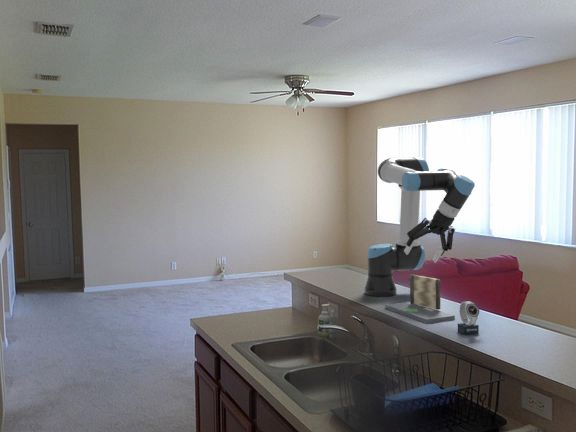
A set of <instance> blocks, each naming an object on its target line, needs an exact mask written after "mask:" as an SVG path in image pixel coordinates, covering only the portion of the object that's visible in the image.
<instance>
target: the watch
mask: <svg viewBox="0 0 576 432" xmlns="http://www.w3.org/2000/svg"><path fill="white" fill-rule="evenodd" d="M479 314H480V309H479V307H478V306H477V304H475V303H474V302H472V301H470V300H469V301H468V300H467V301H461V303H460V305H459V316H460V319H461V322H458V323H457V333H459V334H461V335H463V336H470V335H479V332H480V331H479V327H480V326H479V324H477V323H476V322H477V320H478V319H479Z"/></svg>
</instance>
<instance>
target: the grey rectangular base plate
mask: <svg viewBox="0 0 576 432" xmlns="http://www.w3.org/2000/svg"><path fill="white" fill-rule="evenodd" d="M385 309H387V310H389V311H392V312H395V313H398V314H400V315H403V316H405V317H408V318H411V319H413V320H416V321H419V322H421V323H424V324H431V323H432V324H433V323H439V322H446V321H452V320H453V321H454V320H455V319H456V317H455V314H451V313H447V312H445V311H441V310H440V309H439V310H437V309H433V308H429V307H425V306H420V305H416V304H410V301H405V302H397V303H391V304H390V303H388V304H385Z"/></svg>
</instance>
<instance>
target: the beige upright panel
mask: <svg viewBox="0 0 576 432" xmlns="http://www.w3.org/2000/svg"><path fill="white" fill-rule="evenodd" d="M409 302H410V304H416V305H420V306H425V307H429V308H433V309H436V310H439V311H440V310H441V279H439V278H434V277H428V276H425V275H418V274H409Z"/></svg>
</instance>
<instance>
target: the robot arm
mask: <svg viewBox="0 0 576 432" xmlns="http://www.w3.org/2000/svg"><path fill="white" fill-rule="evenodd" d="M377 175H378V177H379V179H380V180H381V181H383V182H385V183H388V184H392V183H393V184H397V186H398V187H399V189H400V191H401V193H400V211H399V212H400V216H399V217H400V218H399V235H398V237H399V239H397V240H396V242H395V246H394V245H393V244H392V243H379V244H374V245H371V246H370V247H368V249H367V278H366V279H367V280H366V282H365V287H364V294H365V295H367V296H372V297H390V296H395V295H397V294H398V293H397V291H398V290H397V286H396V283H395V280H394V278H393V275H394V273H393V272H399V271H400V272H401V271H416V270H420V269H421V268H422V267H423V265H424V263H425V258H426V252H425V248H424V246H423V245H421V242H420V241H419V239H420V238H422V237H424V236H425V235H429V234H435V235H438V236H439V238H440V242H441V245H440V246H438V248H437V250H436V252H435V253H434V255H433V256H432V257H431V259H432V261H433V262H434V264H436V263H437V262H438V260H439V259H440V257H443V255H444V253H445V252H448V250H450V251H451V250H452V249H453V248H452V247H453V241H454V239H453V238H454V234H455V231H456V229H455V227H454V226H452V224H453V223H454V221H455V218H457V215H458V214H459V213H460V211H461V209H462V208H463V206H464V204H465V203H466V202H467V200H468V198H470V195H472V192H473V190H474V188H475V186H476V185H475V182H474V181H473V180H472V179H470V178H469V177H468V176H464V175H462V174H459V175H457V173H456V172H455V171H454V170H453V169H451V168H450V167H448V166H447V167H446V166H442V167H440V168H438V169H436V171H433V170H432V171H430V168H429V165H428V163H427V161H426V160H425V159H424V158H423V157H419V156H418V157H416V156H412V157H406V156H405V157H389V158H387V159H384V160H383V161H381V162H380V164H379V166H378V168H377ZM421 191H422V192H423V191H444V192H445V193H446V195H445V196H444V197H443V199H442V200H441V203H439V205H438V209H436V211H435V213H433V216H432V219H431V220H429V219H428V218H427V217H424V218H423V219H422V221H420V222H419V218H420V217H419V216H420V203H421V201H420V198H421ZM446 232H447V234H446ZM446 235H447V237H446Z"/></svg>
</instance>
